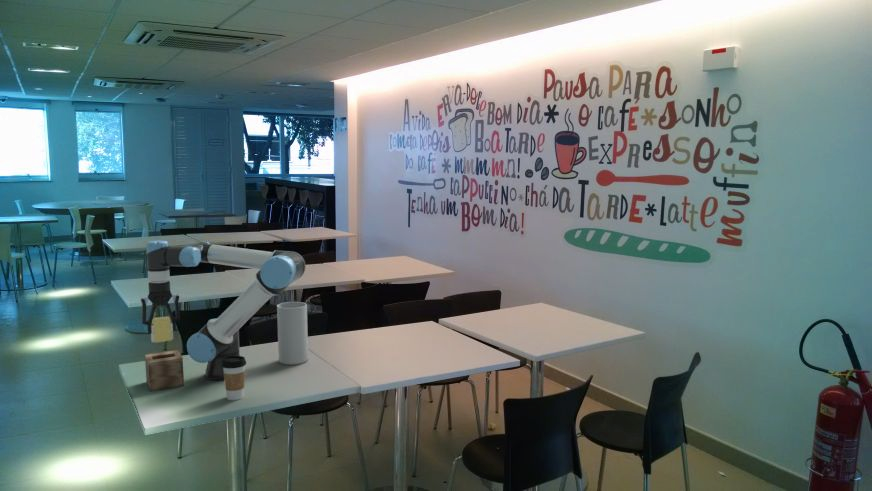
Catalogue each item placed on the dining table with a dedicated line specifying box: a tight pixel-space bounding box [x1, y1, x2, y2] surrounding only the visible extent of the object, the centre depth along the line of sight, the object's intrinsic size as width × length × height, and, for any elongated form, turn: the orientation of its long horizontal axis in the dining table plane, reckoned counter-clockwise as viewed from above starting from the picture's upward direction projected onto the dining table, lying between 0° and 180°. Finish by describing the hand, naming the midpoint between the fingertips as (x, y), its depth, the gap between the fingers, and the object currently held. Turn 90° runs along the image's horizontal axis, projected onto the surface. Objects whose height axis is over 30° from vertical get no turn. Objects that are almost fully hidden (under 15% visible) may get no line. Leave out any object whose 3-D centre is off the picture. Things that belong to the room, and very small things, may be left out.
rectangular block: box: [152, 315, 172, 344], centre depth 233 cm, size 6×3×9 cm, turn 121°
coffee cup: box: [222, 355, 247, 401], centre depth 220 cm, size 8×8×15 cm
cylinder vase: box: [276, 301, 309, 366], centre depth 262 cm, size 12×12×25 cm
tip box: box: [144, 349, 185, 392], centre depth 235 cm, size 12×12×11 cm
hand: (162, 339), depth 233 cm, fingers closed on rectangular block, 6 cm apart
